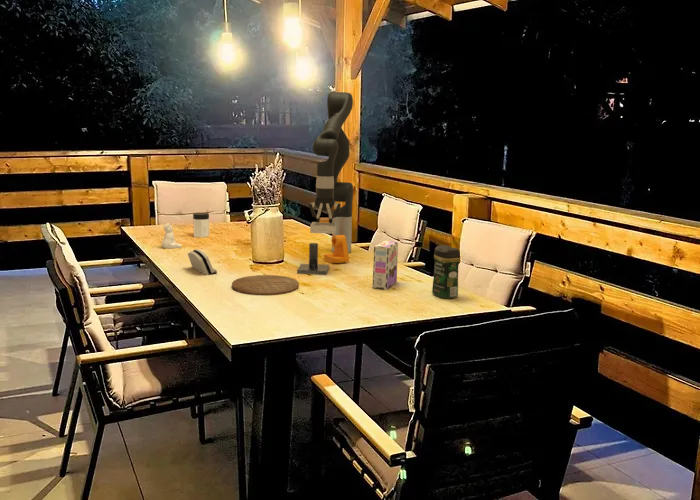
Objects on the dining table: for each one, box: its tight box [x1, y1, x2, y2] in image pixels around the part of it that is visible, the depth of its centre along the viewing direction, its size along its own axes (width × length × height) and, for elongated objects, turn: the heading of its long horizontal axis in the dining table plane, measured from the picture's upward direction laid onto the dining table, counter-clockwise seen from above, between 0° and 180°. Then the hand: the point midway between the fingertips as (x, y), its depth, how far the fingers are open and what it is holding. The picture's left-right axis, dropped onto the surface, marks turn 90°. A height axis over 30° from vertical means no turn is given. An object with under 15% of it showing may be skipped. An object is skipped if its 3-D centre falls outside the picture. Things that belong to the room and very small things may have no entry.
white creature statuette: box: [161, 222, 182, 250], centre depth 323 cm, size 10×9×12 cm
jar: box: [192, 212, 210, 238], centre depth 355 cm, size 9×8×12 cm
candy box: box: [372, 240, 399, 290], centre depth 260 cm, size 14×6×16 cm, turn 160°
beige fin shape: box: [187, 248, 218, 276], centre depth 277 cm, size 17×5×10 cm, turn 32°
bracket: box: [323, 235, 350, 264], centre depth 301 cm, size 11×7×12 cm, turn 29°
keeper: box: [296, 242, 330, 275], centre depth 282 cm, size 12×12×12 cm
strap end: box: [309, 217, 336, 235], centre depth 282 cm, size 17×10×4 cm, turn 179°
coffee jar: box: [431, 244, 461, 300], centre depth 246 cm, size 10×8×19 cm
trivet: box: [231, 274, 300, 296], centre depth 255 cm, size 25×25×2 cm
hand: (324, 226), depth 288 cm, fingers closed on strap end, 4 cm apart
